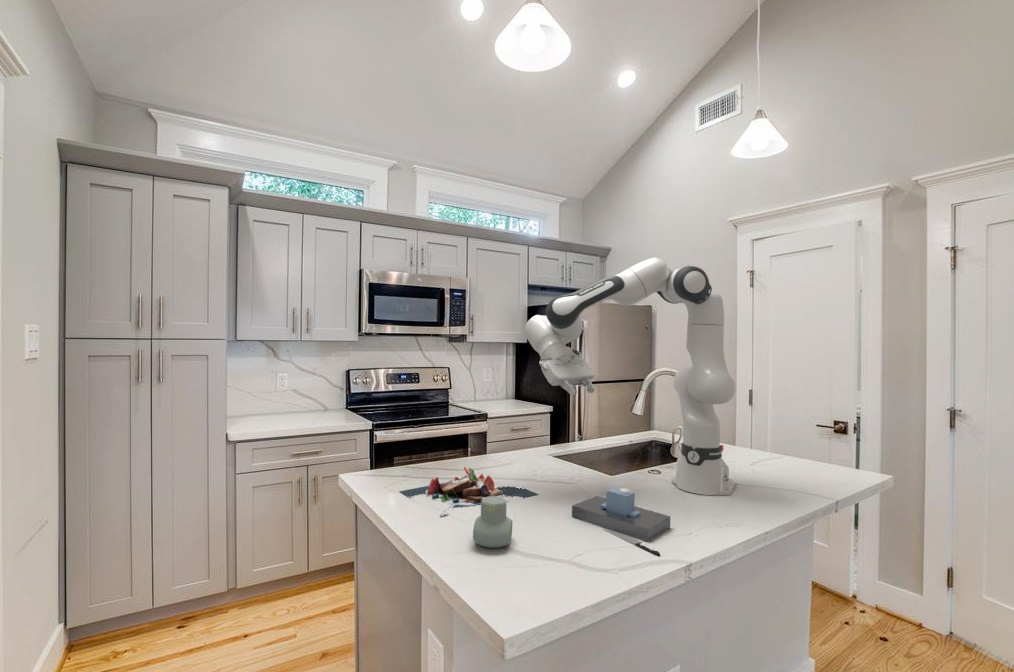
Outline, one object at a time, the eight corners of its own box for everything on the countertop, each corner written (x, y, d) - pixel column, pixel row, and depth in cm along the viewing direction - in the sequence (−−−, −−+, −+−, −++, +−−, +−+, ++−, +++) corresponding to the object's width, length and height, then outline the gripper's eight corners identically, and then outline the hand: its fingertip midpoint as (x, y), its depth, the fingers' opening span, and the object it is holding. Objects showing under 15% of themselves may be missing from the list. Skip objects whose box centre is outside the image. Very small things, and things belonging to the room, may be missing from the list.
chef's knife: (606, 527, 128) (598, 529, 126) (607, 522, 128) (598, 524, 126) (667, 556, 112) (658, 558, 110) (667, 550, 112) (658, 553, 110)
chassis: (596, 506, 142) (596, 495, 142) (670, 528, 127) (670, 516, 127) (571, 516, 133) (572, 505, 133) (647, 541, 118) (648, 529, 118)
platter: (438, 521, 129) (439, 486, 130) (396, 496, 151) (396, 466, 151) (541, 498, 150) (541, 468, 150) (490, 479, 172) (491, 452, 172)
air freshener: (479, 532, 121) (479, 491, 121) (512, 534, 120) (513, 493, 120) (471, 552, 110) (472, 507, 110) (508, 554, 109) (509, 509, 109)
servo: (607, 515, 135) (608, 482, 135) (641, 525, 128) (641, 491, 128) (599, 518, 132) (600, 485, 132) (633, 529, 125) (634, 494, 125)
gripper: (543, 352, 146) (569, 388, 140) (582, 351, 161) (608, 384, 154) (531, 366, 149) (556, 402, 143) (571, 364, 164) (595, 397, 158)
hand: (583, 392), depth 149 cm, fingers open, 8 cm apart
